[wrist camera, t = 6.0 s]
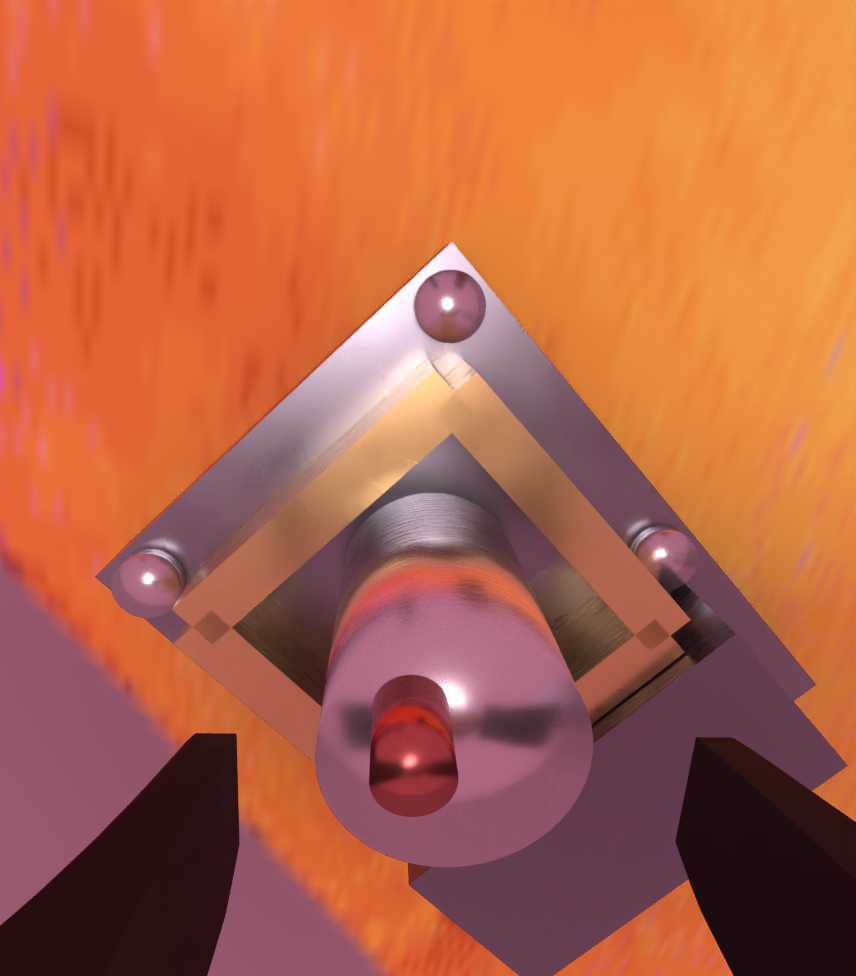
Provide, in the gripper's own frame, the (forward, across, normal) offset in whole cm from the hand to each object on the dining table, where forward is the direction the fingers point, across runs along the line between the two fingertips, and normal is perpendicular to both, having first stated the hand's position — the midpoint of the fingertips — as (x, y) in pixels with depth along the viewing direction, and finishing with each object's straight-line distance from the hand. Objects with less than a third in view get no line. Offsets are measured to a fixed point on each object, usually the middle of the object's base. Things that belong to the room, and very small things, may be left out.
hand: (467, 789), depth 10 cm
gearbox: (+10, -1, +1) cm, 10 cm away
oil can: (+8, 0, 0) cm, 8 cm away
